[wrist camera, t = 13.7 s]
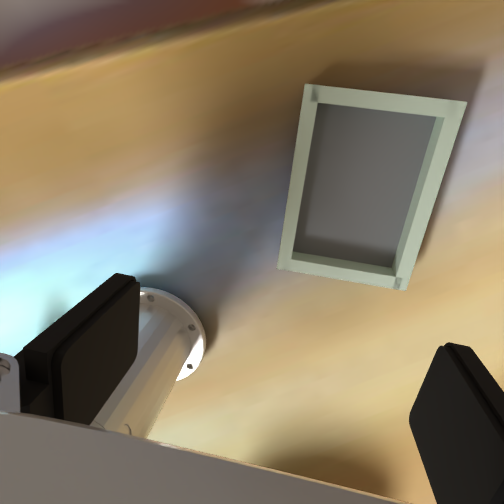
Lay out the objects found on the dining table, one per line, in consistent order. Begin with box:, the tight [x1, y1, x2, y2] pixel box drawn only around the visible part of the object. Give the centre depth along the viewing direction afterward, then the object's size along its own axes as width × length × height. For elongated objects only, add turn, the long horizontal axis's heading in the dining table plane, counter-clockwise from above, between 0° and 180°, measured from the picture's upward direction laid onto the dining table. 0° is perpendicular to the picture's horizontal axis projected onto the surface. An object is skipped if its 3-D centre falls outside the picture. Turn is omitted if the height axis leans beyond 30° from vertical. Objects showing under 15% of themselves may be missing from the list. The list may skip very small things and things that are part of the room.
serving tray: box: [277, 84, 467, 291], centre depth 31 cm, size 16×12×3 cm
